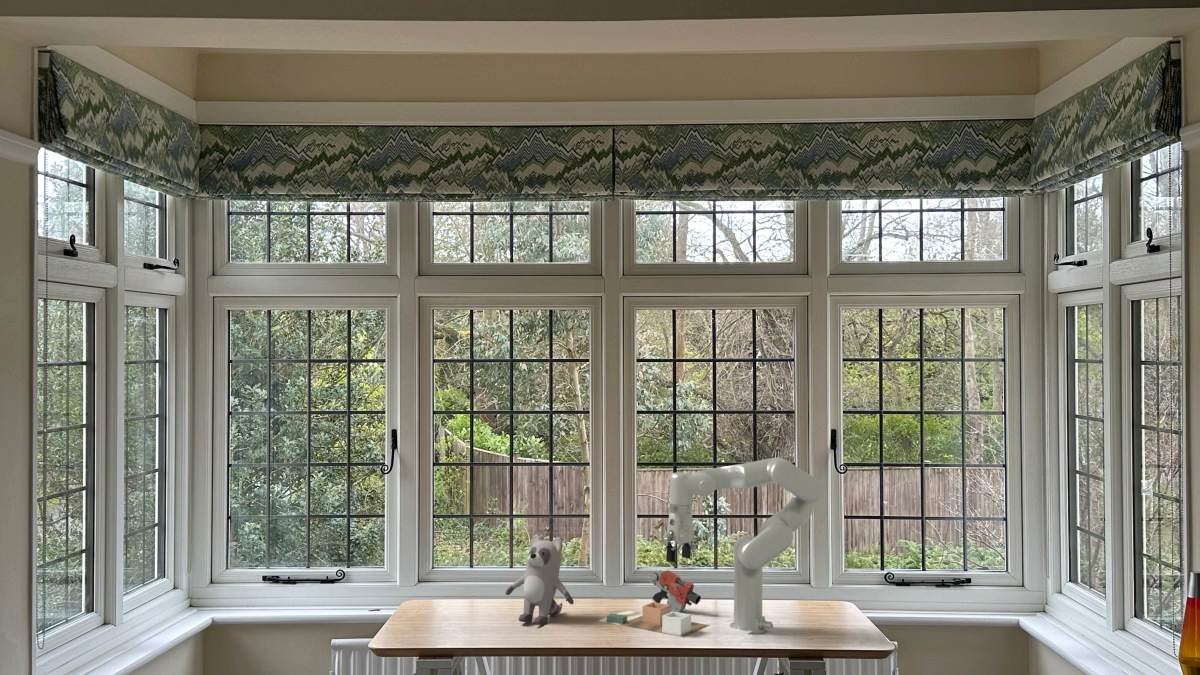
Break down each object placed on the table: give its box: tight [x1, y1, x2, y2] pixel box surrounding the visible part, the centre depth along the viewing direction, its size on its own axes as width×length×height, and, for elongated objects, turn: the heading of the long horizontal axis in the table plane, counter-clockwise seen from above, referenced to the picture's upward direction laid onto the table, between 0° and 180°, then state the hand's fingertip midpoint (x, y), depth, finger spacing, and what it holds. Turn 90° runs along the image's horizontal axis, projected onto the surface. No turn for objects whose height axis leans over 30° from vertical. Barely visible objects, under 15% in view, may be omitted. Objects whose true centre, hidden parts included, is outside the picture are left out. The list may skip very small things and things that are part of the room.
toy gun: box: [648, 569, 702, 613], centre depth 342 cm, size 4×20×15 cm, turn 53°
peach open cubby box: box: [641, 601, 670, 625], centre depth 328 cm, size 7×7×6 cm
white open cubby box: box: [661, 612, 692, 637], centre depth 315 cm, size 7×7×6 cm
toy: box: [505, 534, 575, 626], centre depth 330 cm, size 21×21×29 cm
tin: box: [606, 613, 627, 624], centre depth 327 cm, size 6×4×2 cm, turn 66°
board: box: [597, 609, 710, 638], centre depth 326 cm, size 34×18×1 cm, turn 56°
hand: (678, 559), depth 323 cm, fingers open, 9 cm apart
